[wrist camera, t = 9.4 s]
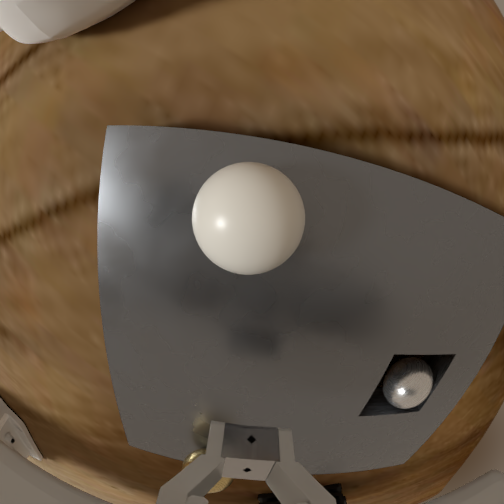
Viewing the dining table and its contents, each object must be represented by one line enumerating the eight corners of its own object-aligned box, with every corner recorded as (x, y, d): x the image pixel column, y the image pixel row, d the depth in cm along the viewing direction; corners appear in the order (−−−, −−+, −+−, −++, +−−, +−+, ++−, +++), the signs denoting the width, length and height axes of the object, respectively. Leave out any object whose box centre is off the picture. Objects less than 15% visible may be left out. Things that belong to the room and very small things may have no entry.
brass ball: (233, 465, 14) (229, 502, 11) (187, 456, 14) (178, 493, 11) (239, 444, 13) (235, 487, 10) (187, 434, 13) (175, 476, 10)
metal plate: (396, 443, 17) (403, 463, 15) (139, 422, 17) (129, 445, 14) (509, 224, 11) (534, 234, 9) (134, 131, 11) (107, 125, 9)
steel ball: (405, 339, 14) (421, 366, 14) (366, 374, 14) (385, 398, 14) (435, 361, 11) (447, 389, 11) (390, 403, 11) (407, 426, 11)
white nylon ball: (287, 262, 10) (297, 303, 7) (199, 246, 10) (172, 280, 7) (306, 172, 9) (327, 174, 6) (212, 156, 9) (186, 150, 6)
